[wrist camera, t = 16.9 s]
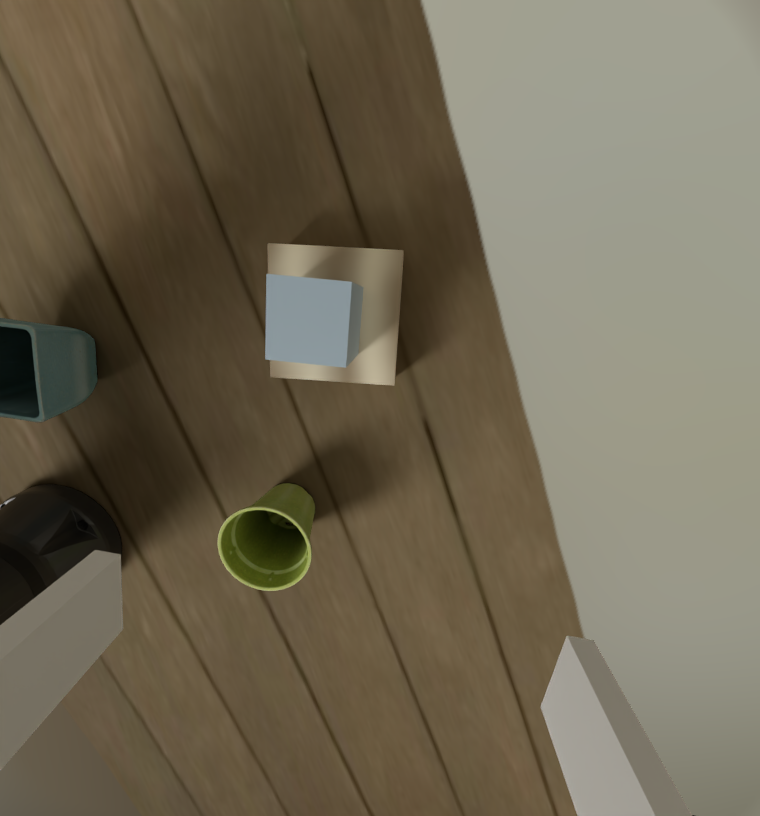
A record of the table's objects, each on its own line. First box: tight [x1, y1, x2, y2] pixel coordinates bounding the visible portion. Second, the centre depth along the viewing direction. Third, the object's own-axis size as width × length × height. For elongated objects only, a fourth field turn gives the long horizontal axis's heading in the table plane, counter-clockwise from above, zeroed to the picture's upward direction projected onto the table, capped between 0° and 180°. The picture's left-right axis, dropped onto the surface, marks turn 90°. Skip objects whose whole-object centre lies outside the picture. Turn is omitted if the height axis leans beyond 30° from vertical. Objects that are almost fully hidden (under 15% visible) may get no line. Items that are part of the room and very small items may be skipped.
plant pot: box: [218, 483, 315, 591], centre depth 41 cm, size 9×9×9 cm
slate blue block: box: [265, 274, 364, 368], centre depth 31 cm, size 6×6×8 cm
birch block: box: [267, 243, 404, 385], centre depth 37 cm, size 12×12×5 cm
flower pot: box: [0, 318, 97, 422], centre depth 38 cm, size 9×9×9 cm
